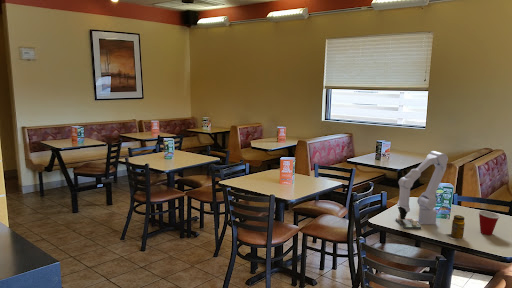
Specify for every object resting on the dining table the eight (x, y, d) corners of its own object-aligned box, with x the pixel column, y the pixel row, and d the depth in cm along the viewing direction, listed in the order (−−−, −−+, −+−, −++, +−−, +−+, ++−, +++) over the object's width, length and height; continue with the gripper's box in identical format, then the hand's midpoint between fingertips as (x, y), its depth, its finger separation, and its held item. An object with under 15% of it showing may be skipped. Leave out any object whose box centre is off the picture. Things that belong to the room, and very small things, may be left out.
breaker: (414, 223, 234) (415, 219, 233) (416, 225, 231) (417, 220, 230) (411, 223, 234) (411, 218, 233) (413, 225, 231) (413, 220, 230)
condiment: (466, 239, 217) (468, 218, 215) (452, 239, 216) (454, 219, 214) (458, 234, 224) (460, 214, 222) (444, 234, 223) (446, 214, 221)
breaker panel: (411, 220, 244) (412, 218, 243) (421, 229, 230) (421, 226, 230) (395, 220, 244) (395, 218, 243) (403, 229, 230) (404, 226, 230)
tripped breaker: (401, 218, 242) (401, 214, 241) (403, 220, 239) (403, 215, 239) (398, 218, 242) (398, 214, 241) (400, 220, 239) (400, 215, 239)
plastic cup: (497, 238, 218) (500, 218, 216) (475, 234, 224) (477, 214, 222) (497, 232, 228) (500, 212, 226) (476, 228, 233) (478, 209, 231)
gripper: (393, 193, 243) (391, 214, 245) (402, 201, 228) (400, 223, 231) (404, 193, 243) (403, 215, 245) (414, 201, 228) (412, 223, 231)
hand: (402, 219), depth 238 cm, fingers closed
